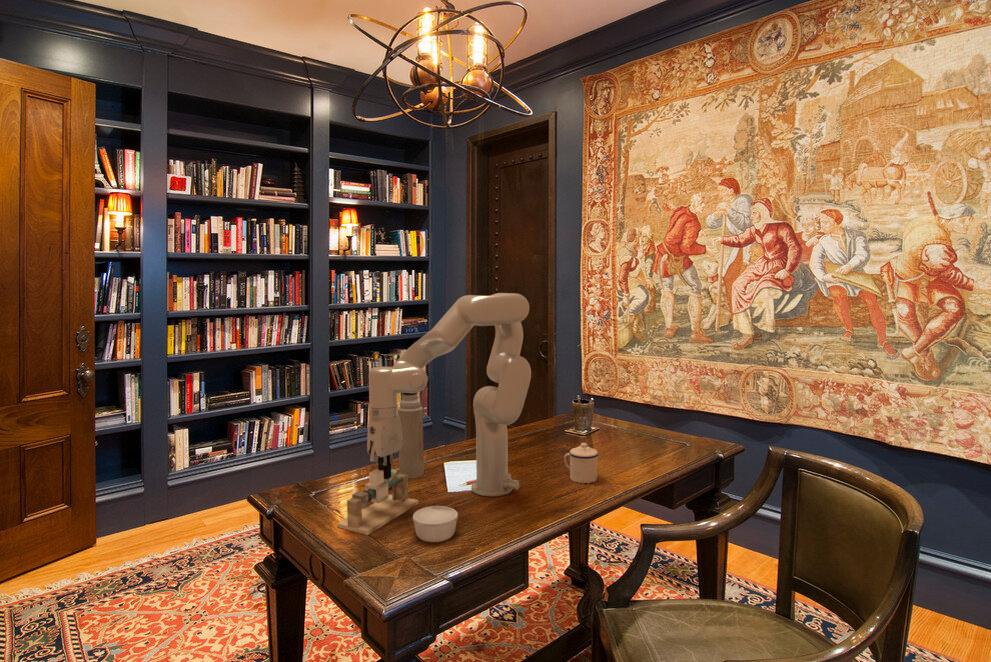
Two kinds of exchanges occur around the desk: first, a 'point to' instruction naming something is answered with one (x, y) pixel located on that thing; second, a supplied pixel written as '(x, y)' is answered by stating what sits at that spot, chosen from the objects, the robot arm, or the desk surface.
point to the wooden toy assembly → (377, 507)
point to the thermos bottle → (411, 436)
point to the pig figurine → (391, 475)
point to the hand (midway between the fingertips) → (384, 477)
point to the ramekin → (435, 523)
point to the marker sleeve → (377, 486)
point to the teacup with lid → (582, 464)
